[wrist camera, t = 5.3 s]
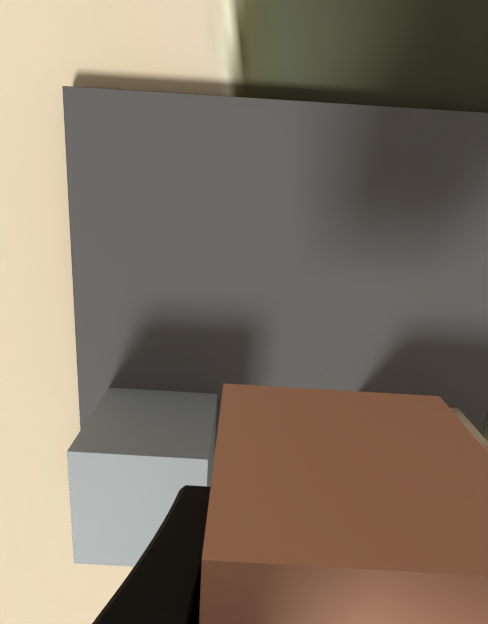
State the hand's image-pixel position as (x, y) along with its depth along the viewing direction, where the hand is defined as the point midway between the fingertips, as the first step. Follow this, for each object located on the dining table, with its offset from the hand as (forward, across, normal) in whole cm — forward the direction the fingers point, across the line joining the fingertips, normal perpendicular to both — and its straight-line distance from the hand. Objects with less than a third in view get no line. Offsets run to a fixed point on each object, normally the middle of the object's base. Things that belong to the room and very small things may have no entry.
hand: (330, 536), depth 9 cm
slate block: (+10, +5, +4) cm, 12 cm away
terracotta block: (+1, 0, 0) cm, 1 cm away
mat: (+10, 0, 0) cm, 10 cm away
